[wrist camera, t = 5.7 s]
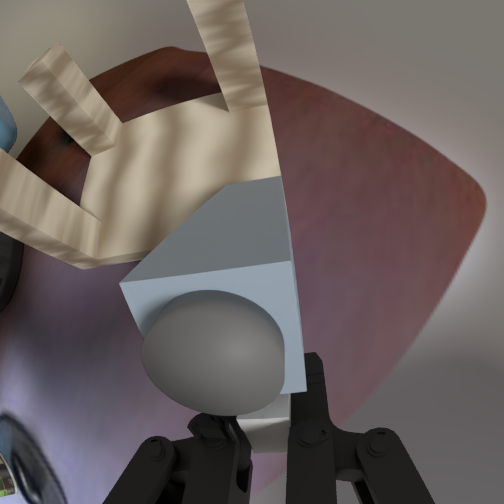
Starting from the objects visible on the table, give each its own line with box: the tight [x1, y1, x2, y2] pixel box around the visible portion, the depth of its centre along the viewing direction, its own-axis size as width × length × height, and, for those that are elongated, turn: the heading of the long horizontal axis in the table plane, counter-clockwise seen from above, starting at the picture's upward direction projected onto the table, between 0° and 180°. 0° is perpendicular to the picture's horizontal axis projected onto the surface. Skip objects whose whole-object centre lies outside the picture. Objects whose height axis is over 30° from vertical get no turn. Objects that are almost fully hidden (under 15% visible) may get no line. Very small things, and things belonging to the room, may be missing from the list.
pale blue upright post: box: [119, 176, 307, 416], centre depth 13 cm, size 4×4×16 cm
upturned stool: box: [0, 0, 291, 269], centre depth 19 cm, size 22×18×17 cm
